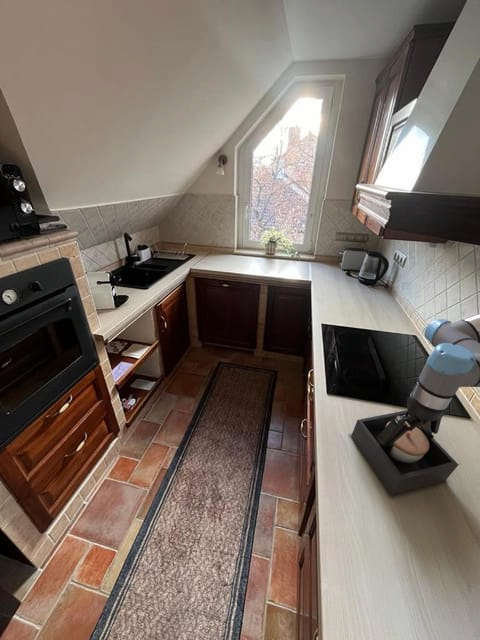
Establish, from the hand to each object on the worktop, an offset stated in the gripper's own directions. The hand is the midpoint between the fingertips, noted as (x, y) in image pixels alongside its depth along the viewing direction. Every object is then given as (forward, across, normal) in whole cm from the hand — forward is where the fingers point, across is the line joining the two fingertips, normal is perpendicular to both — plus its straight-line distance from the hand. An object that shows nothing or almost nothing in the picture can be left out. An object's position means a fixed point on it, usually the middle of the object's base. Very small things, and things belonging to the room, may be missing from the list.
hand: (398, 451), depth 75 cm
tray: (+3, 0, 0) cm, 3 cm away
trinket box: (+1, 0, 0) cm, 1 cm away
